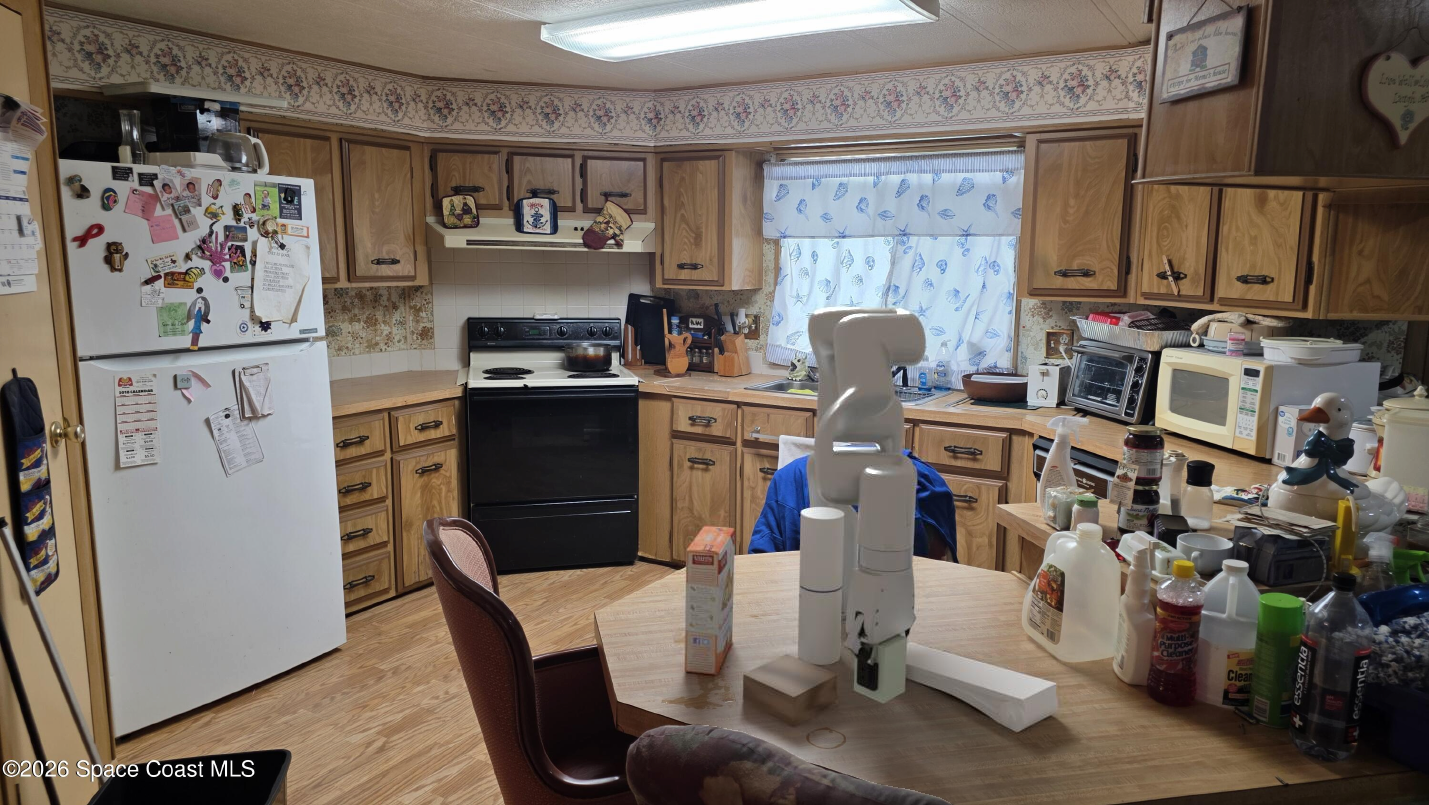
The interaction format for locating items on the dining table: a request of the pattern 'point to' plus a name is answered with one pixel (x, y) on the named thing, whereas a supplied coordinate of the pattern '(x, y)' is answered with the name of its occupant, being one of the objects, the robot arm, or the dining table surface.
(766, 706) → the walnut block
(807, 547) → the cylindrical container
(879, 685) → the sage block
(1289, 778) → the dining table surface
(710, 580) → the cracker box
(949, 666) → the white arched block
